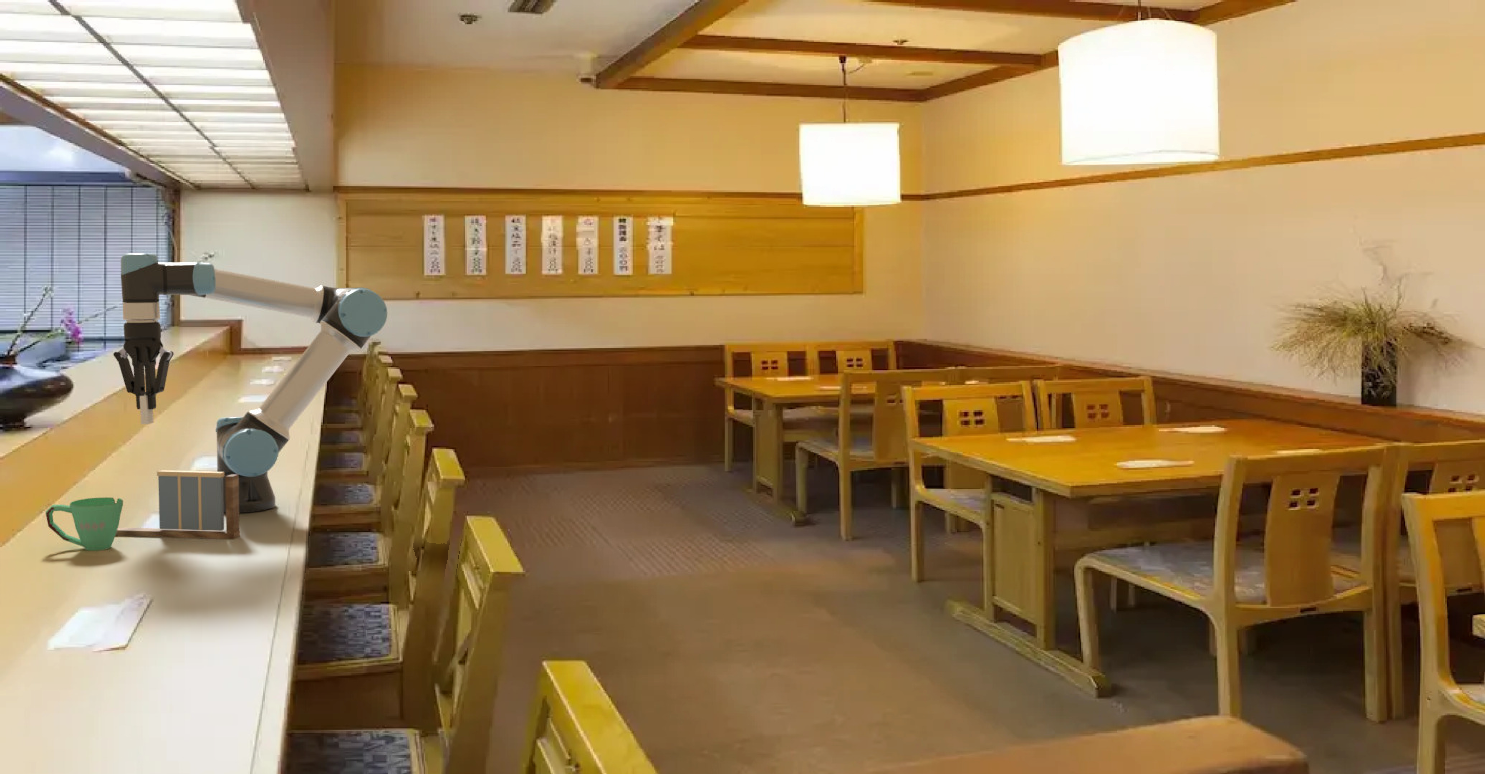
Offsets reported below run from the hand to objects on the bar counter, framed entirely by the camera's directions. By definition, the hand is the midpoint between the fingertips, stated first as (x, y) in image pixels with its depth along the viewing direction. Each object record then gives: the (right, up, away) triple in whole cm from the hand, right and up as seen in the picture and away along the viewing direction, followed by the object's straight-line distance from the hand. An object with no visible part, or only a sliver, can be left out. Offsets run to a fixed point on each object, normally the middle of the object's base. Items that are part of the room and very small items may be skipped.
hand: (147, 423), depth 268 cm
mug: (-2, -26, -22) cm, 34 cm away
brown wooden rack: (+9, -25, -9) cm, 28 cm away
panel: (+15, -23, -9) cm, 29 cm away
